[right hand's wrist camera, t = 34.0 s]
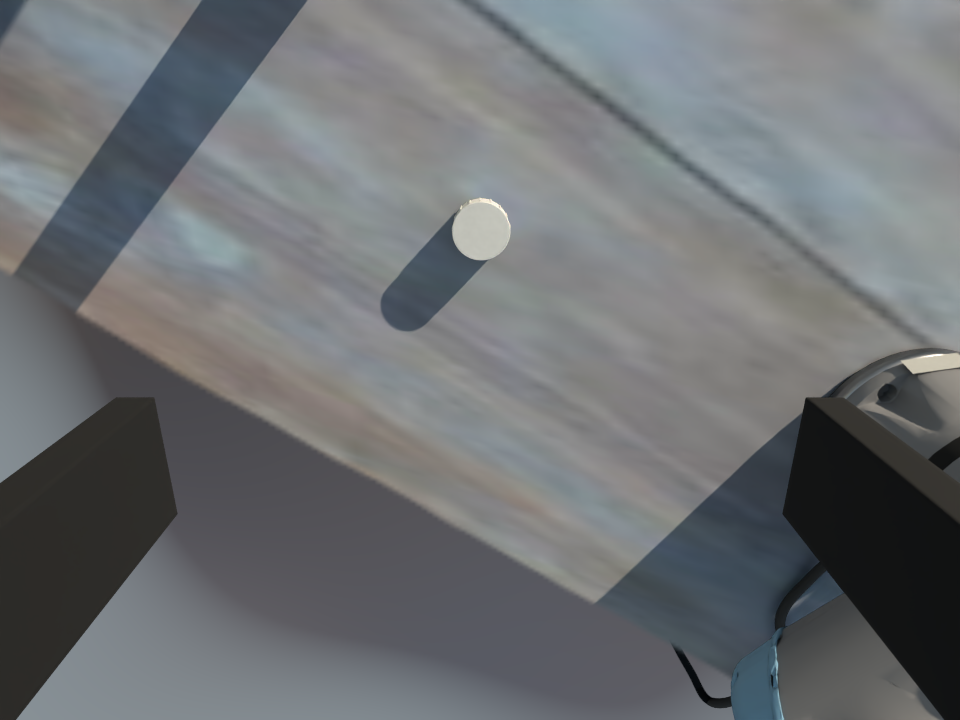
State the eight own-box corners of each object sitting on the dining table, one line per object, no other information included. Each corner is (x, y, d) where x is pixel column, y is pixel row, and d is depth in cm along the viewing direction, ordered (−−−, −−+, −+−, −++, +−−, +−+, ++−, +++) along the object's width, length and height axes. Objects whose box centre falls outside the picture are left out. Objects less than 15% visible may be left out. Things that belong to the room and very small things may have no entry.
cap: (514, 248, 43) (516, 254, 41) (459, 260, 43) (458, 267, 41) (503, 192, 42) (504, 195, 40) (446, 204, 42) (445, 208, 40)
